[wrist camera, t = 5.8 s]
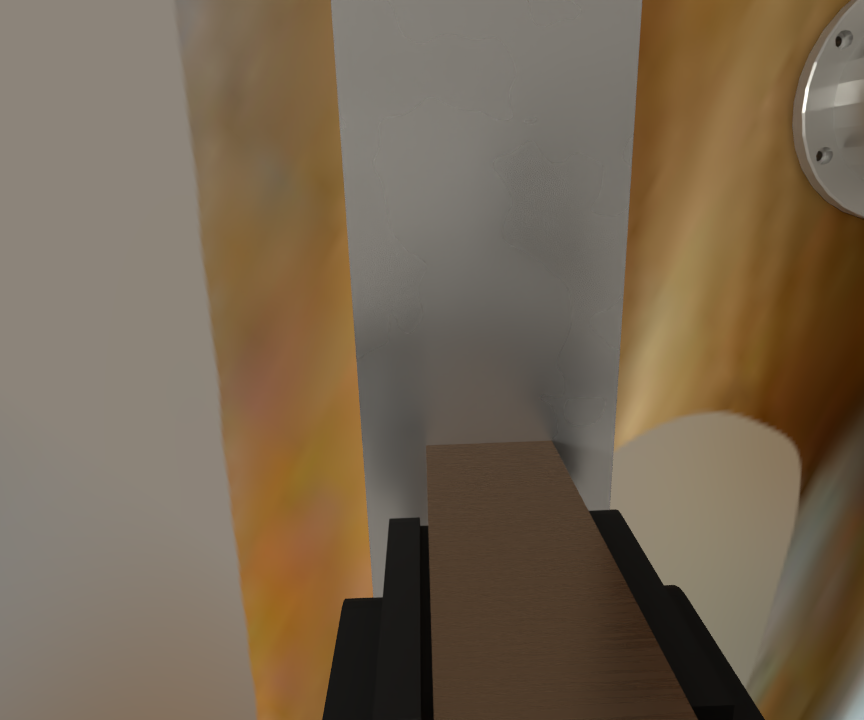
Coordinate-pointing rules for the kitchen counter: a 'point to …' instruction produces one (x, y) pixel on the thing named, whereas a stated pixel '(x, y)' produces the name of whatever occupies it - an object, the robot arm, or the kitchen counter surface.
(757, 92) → the kitchen counter surface
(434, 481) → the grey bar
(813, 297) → the kitchen counter surface
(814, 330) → the kitchen counter surface
